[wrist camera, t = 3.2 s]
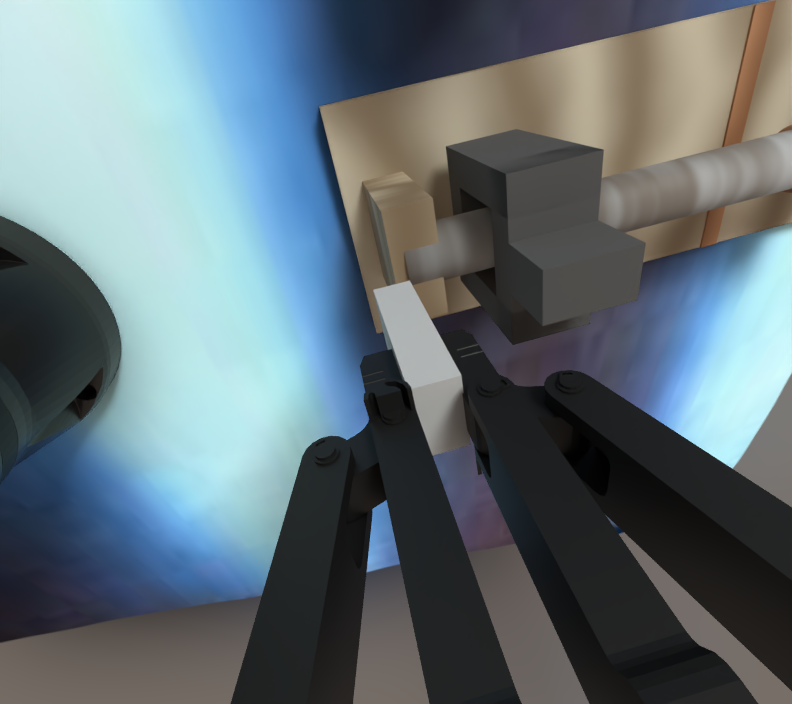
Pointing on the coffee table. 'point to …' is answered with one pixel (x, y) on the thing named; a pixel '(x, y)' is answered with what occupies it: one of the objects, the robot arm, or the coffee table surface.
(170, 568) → the coffee table surface
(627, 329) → the coffee table surface
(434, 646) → the robot arm
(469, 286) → the collar
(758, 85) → the pipe rig
